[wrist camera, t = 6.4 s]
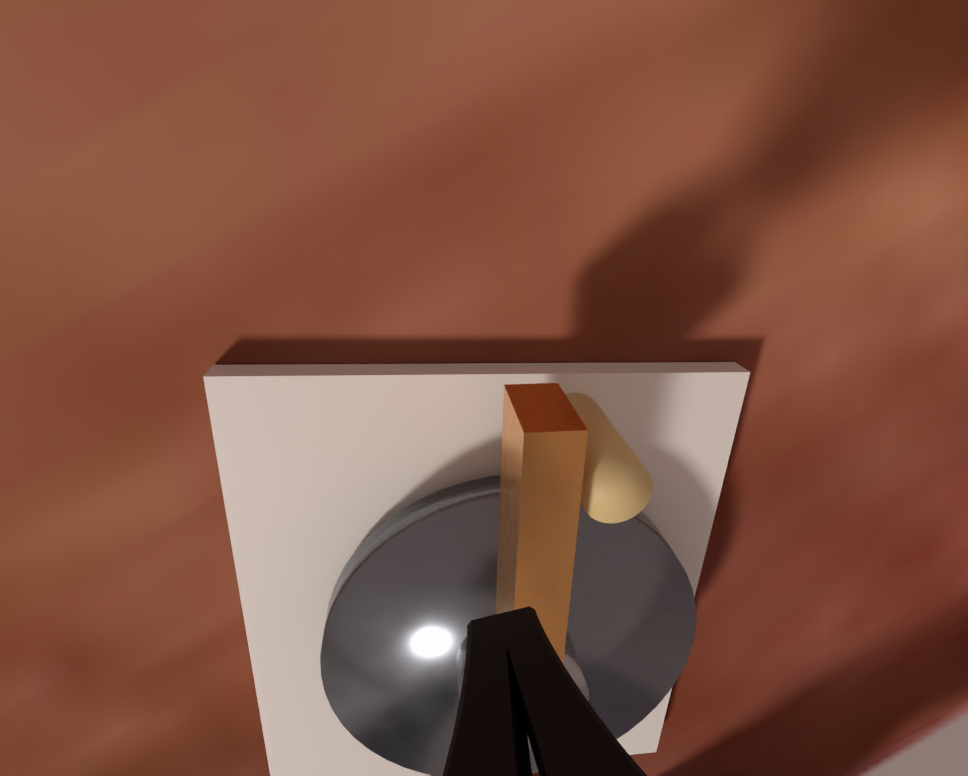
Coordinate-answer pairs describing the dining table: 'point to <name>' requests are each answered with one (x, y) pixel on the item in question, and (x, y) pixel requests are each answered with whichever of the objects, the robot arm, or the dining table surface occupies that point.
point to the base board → (419, 473)
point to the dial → (504, 593)
